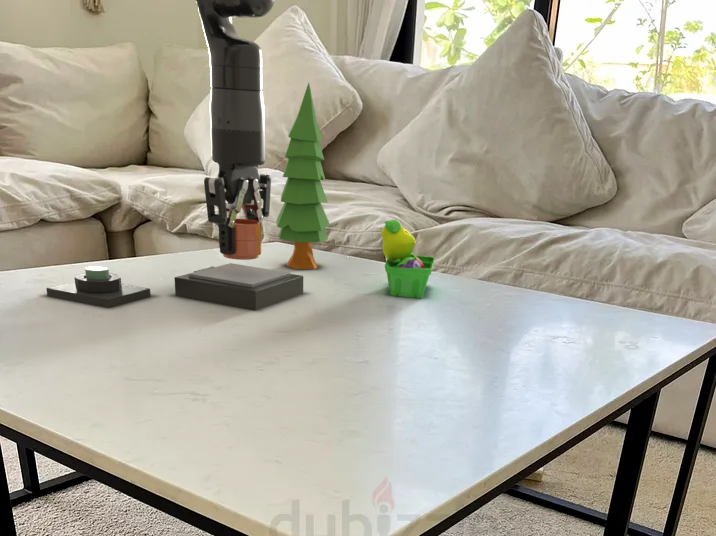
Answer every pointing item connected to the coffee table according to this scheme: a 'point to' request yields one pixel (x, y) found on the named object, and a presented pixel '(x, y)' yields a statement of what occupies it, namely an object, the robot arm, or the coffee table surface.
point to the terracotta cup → (246, 239)
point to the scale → (239, 286)
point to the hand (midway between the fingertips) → (240, 250)
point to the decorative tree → (303, 188)
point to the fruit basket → (404, 262)
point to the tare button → (97, 273)
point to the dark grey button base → (98, 291)
